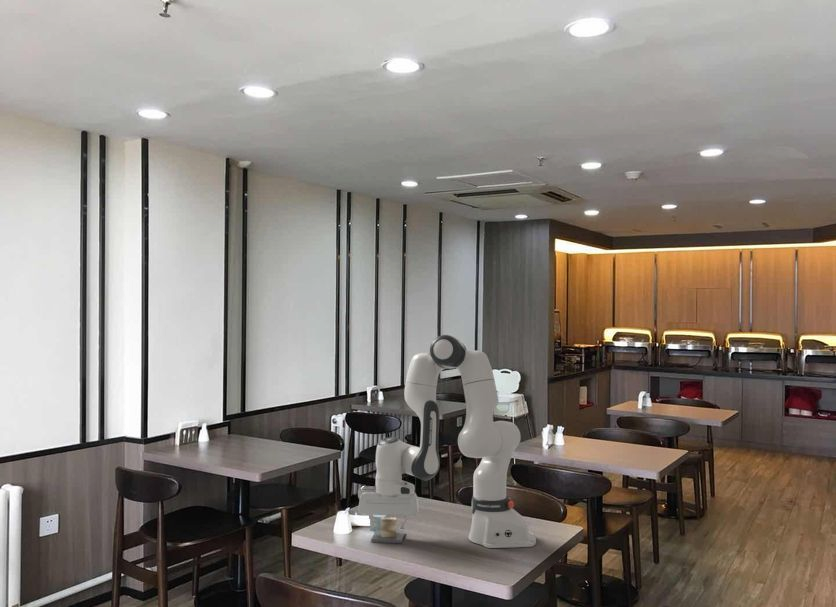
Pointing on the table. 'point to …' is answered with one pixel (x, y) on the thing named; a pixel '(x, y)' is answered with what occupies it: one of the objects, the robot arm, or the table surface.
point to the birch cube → (388, 527)
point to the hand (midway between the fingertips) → (388, 527)
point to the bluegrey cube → (378, 521)
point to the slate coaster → (396, 539)
